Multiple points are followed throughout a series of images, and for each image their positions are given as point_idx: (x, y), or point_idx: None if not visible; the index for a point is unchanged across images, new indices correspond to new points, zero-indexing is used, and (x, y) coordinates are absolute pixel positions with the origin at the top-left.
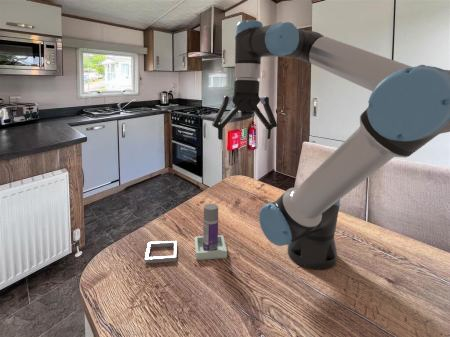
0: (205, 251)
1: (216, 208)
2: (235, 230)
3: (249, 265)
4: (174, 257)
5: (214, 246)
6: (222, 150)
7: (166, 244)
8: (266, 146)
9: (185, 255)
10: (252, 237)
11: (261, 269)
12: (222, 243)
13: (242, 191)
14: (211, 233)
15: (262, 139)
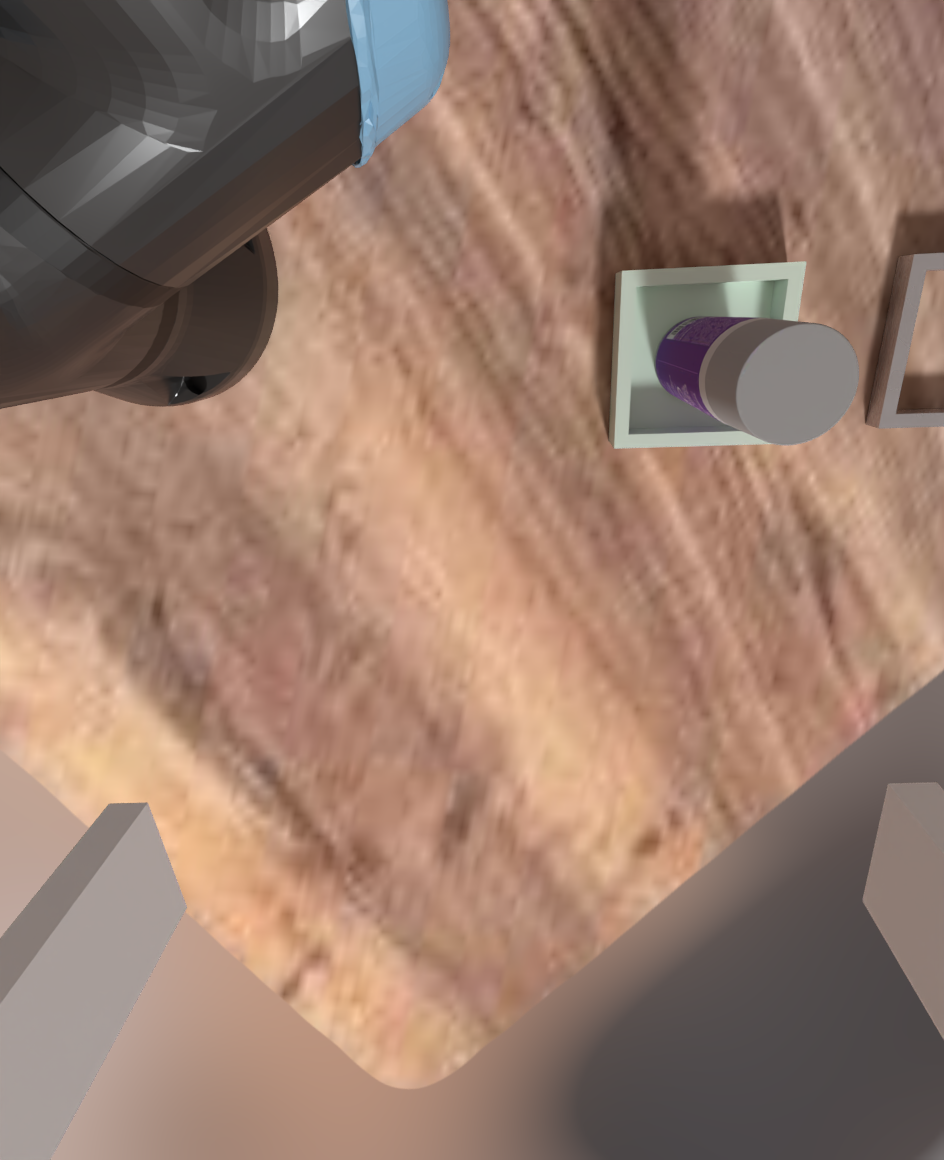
0: (748, 275)
1: (760, 347)
2: (518, 547)
3: (506, 193)
4: (924, 254)
5: (687, 322)
6: (939, 788)
7: (933, 411)
8: (79, 853)
9: (836, 315)
10: (438, 471)
11: (448, 150)
12: (631, 362)
13: (409, 933)
14: (735, 317)
15: (98, 1063)
